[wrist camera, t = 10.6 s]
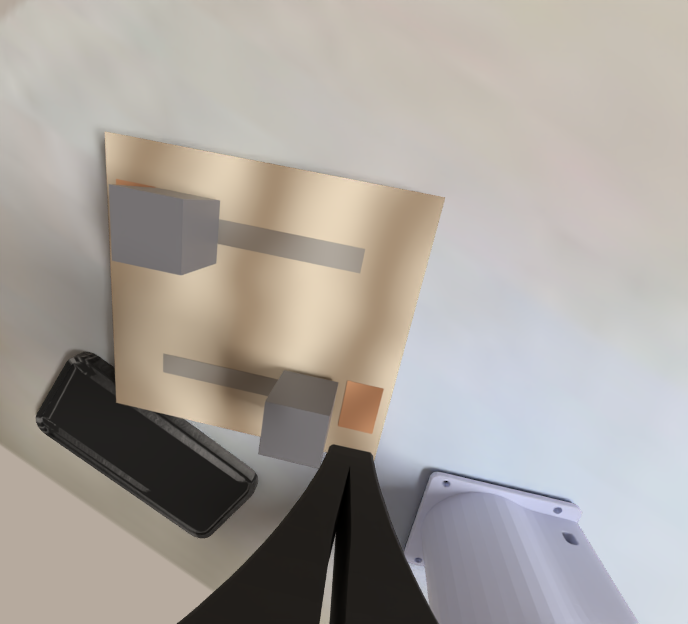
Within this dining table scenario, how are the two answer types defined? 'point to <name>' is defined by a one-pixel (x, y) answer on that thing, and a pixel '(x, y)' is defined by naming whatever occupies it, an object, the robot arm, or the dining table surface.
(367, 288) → the switch board
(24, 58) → the dining table surface
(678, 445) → the dining table surface
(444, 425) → the dining table surface
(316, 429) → the switch tab
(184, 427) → the phone
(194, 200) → the switch tab
